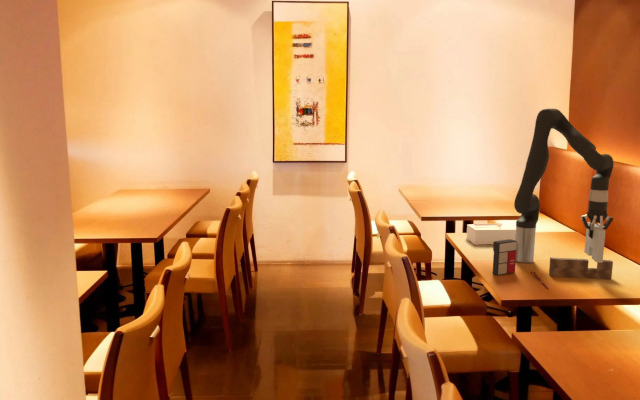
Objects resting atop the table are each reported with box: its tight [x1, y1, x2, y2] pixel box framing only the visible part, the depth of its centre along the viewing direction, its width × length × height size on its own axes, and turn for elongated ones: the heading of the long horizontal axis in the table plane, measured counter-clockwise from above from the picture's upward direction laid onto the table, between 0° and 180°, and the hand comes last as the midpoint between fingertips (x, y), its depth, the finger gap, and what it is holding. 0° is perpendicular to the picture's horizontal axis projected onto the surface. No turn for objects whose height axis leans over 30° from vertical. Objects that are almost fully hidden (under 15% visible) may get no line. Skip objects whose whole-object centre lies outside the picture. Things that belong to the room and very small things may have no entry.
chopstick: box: [530, 271, 549, 290], centre depth 259 cm, size 2×24×1 cm, turn 176°
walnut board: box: [548, 257, 614, 280], centre depth 264 cm, size 26×2×8 cm, turn 81°
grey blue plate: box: [584, 221, 606, 263], centre depth 262 cm, size 18×2×14 cm, turn 171°
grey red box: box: [492, 239, 517, 276], centre depth 268 cm, size 11×4×15 cm, turn 117°
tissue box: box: [466, 220, 516, 246], centre depth 330 cm, size 14×25×11 cm, turn 94°
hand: (594, 238), depth 261 cm, fingers closed on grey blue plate, 2 cm apart
